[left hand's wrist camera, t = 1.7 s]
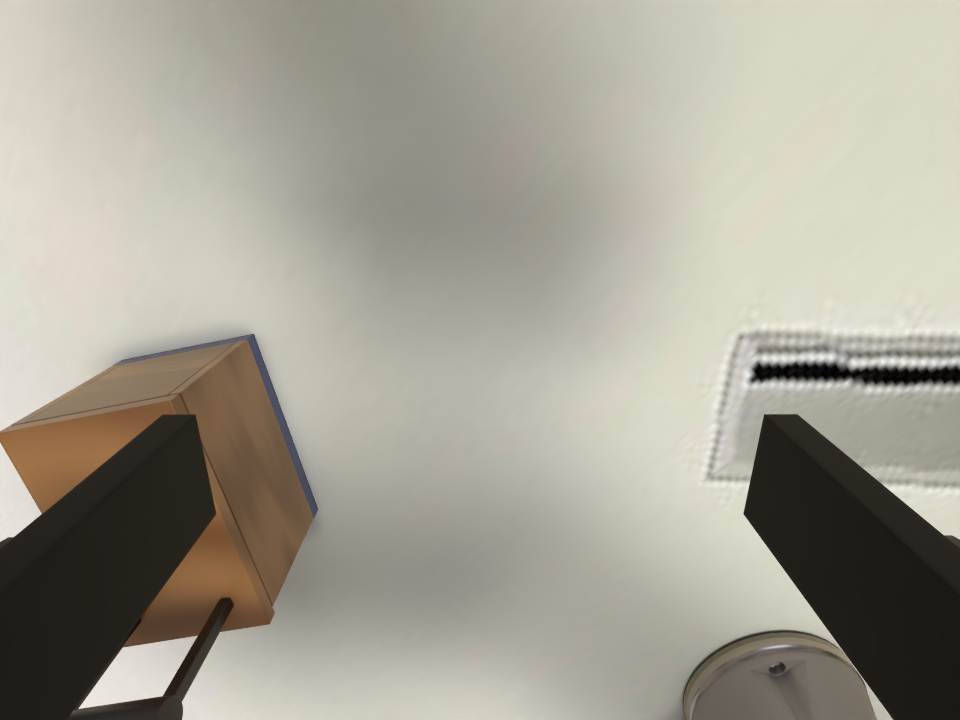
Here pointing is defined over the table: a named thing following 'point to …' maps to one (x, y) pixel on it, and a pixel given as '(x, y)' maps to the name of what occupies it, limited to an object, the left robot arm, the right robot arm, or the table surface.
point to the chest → (222, 438)
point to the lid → (197, 580)
